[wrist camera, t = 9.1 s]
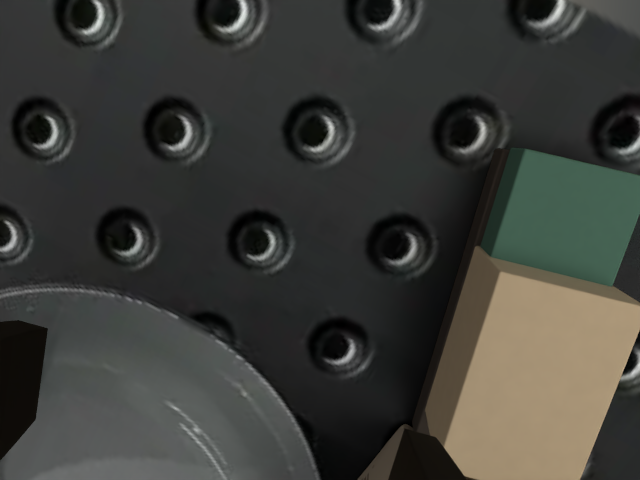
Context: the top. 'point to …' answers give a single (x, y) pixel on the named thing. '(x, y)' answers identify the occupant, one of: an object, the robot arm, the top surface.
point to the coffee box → (386, 458)
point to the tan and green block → (534, 320)
